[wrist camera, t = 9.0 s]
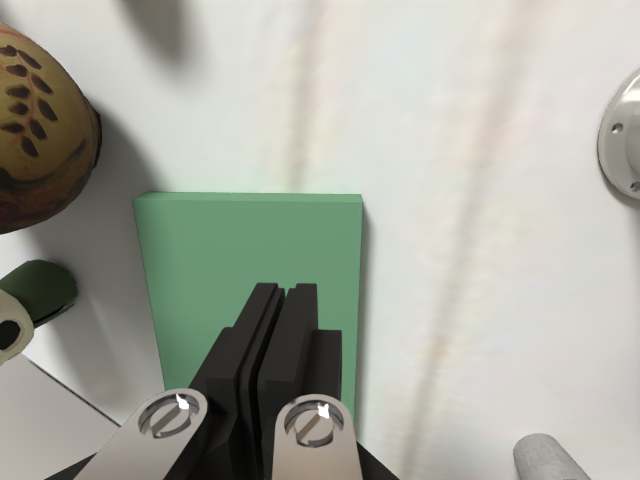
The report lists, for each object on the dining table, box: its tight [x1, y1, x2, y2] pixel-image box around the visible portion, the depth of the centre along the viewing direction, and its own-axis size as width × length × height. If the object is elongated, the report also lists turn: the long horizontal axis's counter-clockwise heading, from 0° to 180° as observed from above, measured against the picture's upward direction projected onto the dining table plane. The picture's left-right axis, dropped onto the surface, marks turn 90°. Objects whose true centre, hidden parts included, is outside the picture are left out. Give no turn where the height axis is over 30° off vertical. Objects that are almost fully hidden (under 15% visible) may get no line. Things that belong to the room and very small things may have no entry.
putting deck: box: [132, 192, 363, 425], centre depth 39 cm, size 30×20×3 cm, turn 0°
